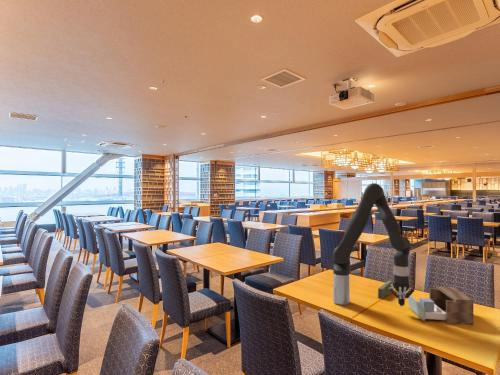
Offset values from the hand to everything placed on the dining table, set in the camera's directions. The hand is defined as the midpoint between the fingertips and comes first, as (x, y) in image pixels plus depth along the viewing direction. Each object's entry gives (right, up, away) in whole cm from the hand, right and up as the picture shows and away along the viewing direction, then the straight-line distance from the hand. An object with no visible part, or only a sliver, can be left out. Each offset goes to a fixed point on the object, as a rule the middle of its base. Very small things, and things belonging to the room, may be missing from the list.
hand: (401, 305), depth 157 cm
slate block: (+13, -2, -2) cm, 13 cm away
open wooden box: (+24, -4, -4) cm, 25 cm away
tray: (+13, -4, -2) cm, 13 cm away
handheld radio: (+6, -5, +31) cm, 32 cm away
